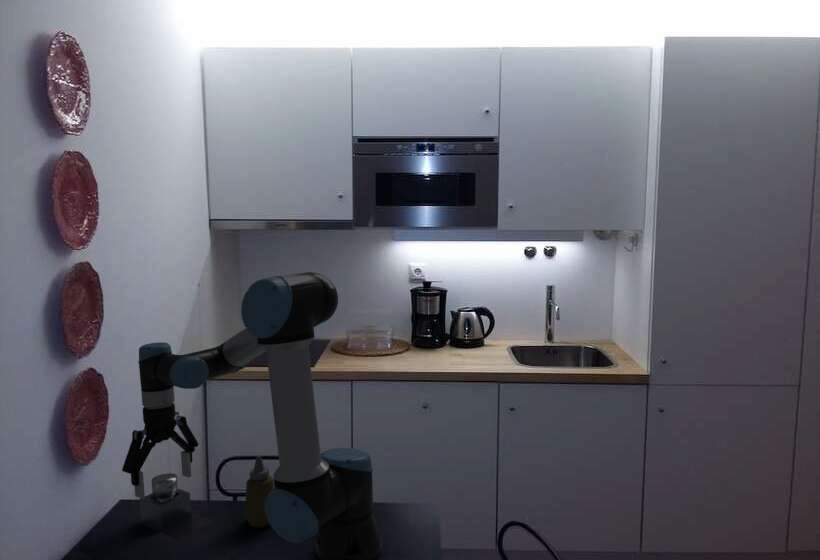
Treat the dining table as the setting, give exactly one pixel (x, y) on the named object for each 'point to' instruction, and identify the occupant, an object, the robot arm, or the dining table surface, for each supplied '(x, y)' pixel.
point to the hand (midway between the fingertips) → (164, 486)
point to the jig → (171, 515)
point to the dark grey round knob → (164, 486)
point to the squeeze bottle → (258, 494)
